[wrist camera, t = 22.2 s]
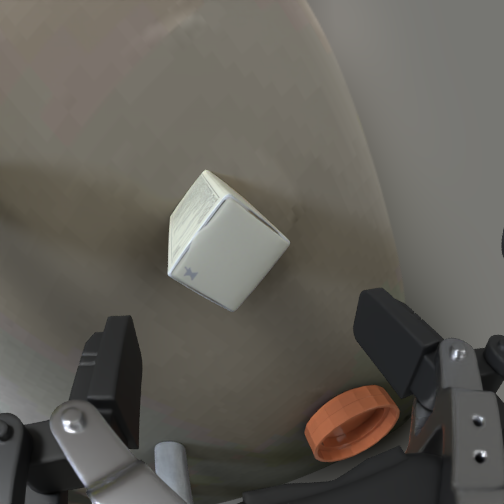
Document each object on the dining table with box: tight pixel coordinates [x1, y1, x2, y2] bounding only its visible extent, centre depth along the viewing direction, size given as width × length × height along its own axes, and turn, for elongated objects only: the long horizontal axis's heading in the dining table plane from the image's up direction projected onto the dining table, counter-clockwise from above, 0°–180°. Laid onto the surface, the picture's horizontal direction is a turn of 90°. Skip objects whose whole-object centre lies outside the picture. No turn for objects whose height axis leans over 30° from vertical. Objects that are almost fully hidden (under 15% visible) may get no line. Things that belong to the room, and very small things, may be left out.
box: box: [168, 170, 290, 312], centre depth 20 cm, size 5×4×11 cm
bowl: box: [304, 385, 400, 462], centre depth 39 cm, size 14×14×5 cm
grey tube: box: [155, 441, 193, 504], centre depth 32 cm, size 4×4×10 cm
